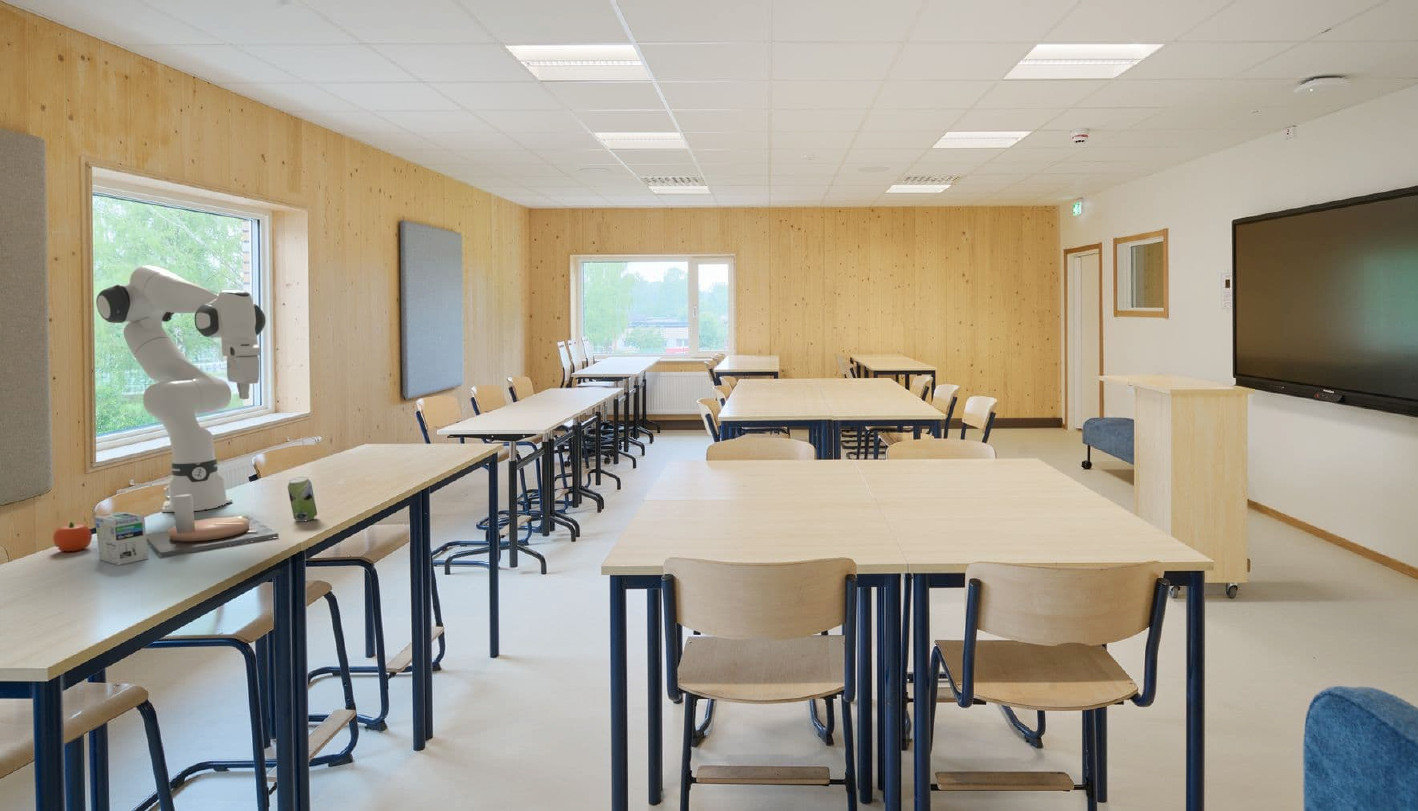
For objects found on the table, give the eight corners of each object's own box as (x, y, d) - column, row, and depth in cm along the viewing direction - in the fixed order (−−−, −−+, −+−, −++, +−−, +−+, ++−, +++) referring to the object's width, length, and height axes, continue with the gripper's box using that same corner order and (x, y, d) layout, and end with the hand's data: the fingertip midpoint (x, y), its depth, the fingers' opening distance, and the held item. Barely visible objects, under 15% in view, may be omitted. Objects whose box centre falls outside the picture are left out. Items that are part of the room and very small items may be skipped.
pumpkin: (99, 548, 225) (96, 519, 224) (63, 556, 218) (60, 526, 217) (83, 545, 229) (80, 516, 228) (48, 552, 222) (45, 523, 221)
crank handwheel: (154, 542, 223) (150, 498, 222) (194, 525, 241) (190, 485, 240) (227, 540, 223) (223, 496, 222) (261, 523, 241) (258, 483, 240)
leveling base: (143, 538, 234) (142, 528, 234) (252, 521, 250) (252, 512, 250) (161, 557, 214) (160, 546, 214) (278, 537, 230) (277, 527, 230)
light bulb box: (149, 559, 213) (145, 514, 212) (118, 566, 207) (113, 520, 206) (128, 553, 219) (124, 509, 218) (97, 560, 213) (93, 515, 212)
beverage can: (321, 517, 254) (318, 475, 253) (307, 523, 246) (304, 480, 245) (300, 517, 254) (297, 475, 253) (285, 523, 247) (282, 480, 246)
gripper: (219, 349, 254) (223, 397, 256) (236, 350, 239) (240, 401, 240) (243, 348, 258) (247, 396, 260) (262, 348, 243) (266, 399, 244)
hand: (244, 399), depth 250 cm, fingers closed
